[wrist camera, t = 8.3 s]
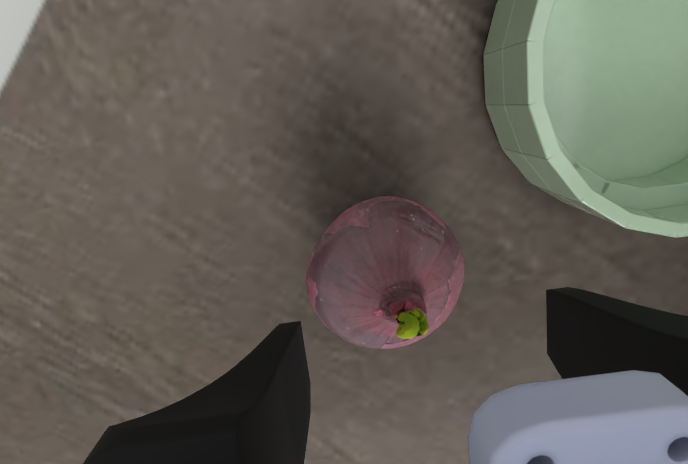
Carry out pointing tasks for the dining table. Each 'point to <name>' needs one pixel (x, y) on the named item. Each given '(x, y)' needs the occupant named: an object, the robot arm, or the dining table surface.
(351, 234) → the vegetable
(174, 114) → the dining table surface
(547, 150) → the bowl
